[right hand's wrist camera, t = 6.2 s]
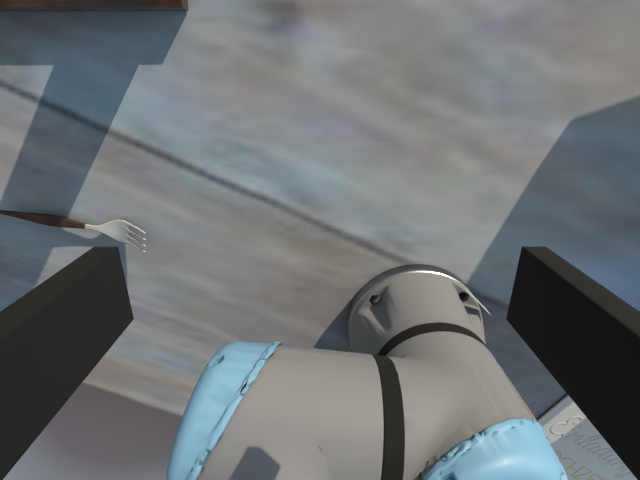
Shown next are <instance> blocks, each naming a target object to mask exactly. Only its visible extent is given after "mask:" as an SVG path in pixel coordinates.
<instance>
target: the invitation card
mask: <svg viewBox="0 0 640 480" xmlns="http://www.w3.org/2000/svg"><path fill="white" fill-rule="evenodd" d="M537 421H538V422H539V424H540V425H541V426H542V427H543V429H544V430H545V431H546V434H547V437H548V441H549V443H550V445H551V447H552V448H553V450H554V452H555V454H556V455H557V457H558V459H559V461H560V462H561V464H562V466H563V468H564V470H565V472H566V475H567V478H568V480H637V479H636V477H635V476H634V475H633V474H632V472H631V471H630V470H629V469H628V468H627V466H626V465H625V464H624V463H623V461H622V460H621V459H620V458H619V456H618V455H617V454H616V453H615V452H614V450H613V449H612V448H611V447H610V445H609V444H608V443H607V442H606V441H605V439H604V438H603V437H602V436H601V434H600V433H599V432H598V431H597V430H596V428H595V427H594V426H593V425H592V423H591V422H590V421H589V420H588V418H587V417H586V416H585V415H584V414H583V412H582V411H581V410H580V409H579V407H578V406H577V405H576V404H575V403H574V401H573V400H572V399H571V398H570V396H569V395H567V396H566V397H565V398H563V399H562V400H561V401H560V402H559V403H557V404H556V405H555V406H554V407H553V408H551V409H550V410H549V411H548V412H547V413H545V414H544V415H543V416H542V417H541V418H539V419H538V420H537Z"/></svg>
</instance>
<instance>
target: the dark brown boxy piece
mask: <svg viewBox="0 0 640 480" xmlns="http://www.w3.org/2000/svg"><path fill="white" fill-rule="evenodd" d="M0 11H188V3H187V0H0Z"/></svg>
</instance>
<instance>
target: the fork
mask: <svg viewBox="0 0 640 480" xmlns="http://www.w3.org/2000/svg"><path fill="white" fill-rule="evenodd" d="M0 213H1V214H4V215H8V216H12V217H17V218H21V219H25V220H29V221H32V222H36V223H40V224H44V225H49V226H56V227H69V228H84V229H93V230H97V231H100V232H102V233H104V234H106V235H107V236H109V237H111V238H113V239H115V240H117V241H119V242H122V243H125V244H128V245H131V246H133V247H135V248H137V249H139V250H141V251H143V252H144V253H145V252H146V251H144V250H143V249H141V248H140V247H138V246H137V245H135V244H133V243H132V242H130V241H129V239H131V240H133V241H135V242H138V243H140V244H141V245H143V246H146V245H145V244H143V243H142V242H140V241H138V240H137V239H135V238H133V237H132V236H130V235H129V233H131V234H134V235H136V236H138V237H140V238H142V239H144V240H146V239H145V238H144V237H142V236H140V235H139V234H137V233H135V232H134V231H132V230H130V229H129V227H132V228H134V229H136V230H139V231H141V232H143V233H144V234H146V232H144V231H143V230H141V229H139V228H138V227H136V226H134V225H132V224H130V223H128V222H126V221H124V220H113V221H110V222H107V223H105V224H102V225H99V226H93V225H88V224H85V223H81V222H78V221H74V220H71V219H67V218H63V217H59V216H55V215H48V214H36V213H23V212H14V211H3V210H0Z"/></svg>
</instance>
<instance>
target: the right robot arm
mask: <svg viewBox="0 0 640 480" xmlns="http://www.w3.org/2000/svg"><path fill="white" fill-rule="evenodd" d="M479 304H480V305H481V306H482V307H483V308H484V309H485V310H486V311H487V312H488V310H487V309H486V308H485V307H484V306H483V305H482V304H481V303H480V302H479V301H478V300H477V299H476V298H475V296H474V295H473V294H472V292H471V291H470V290H469V288H468V287H467V286H466V285H465V283H464V282H463V281H462V280H460V279H459V278H458V277H457V276H455V275H454V274H452V273H450V272H448V271H447V270H444V269H442V268H438V267H435V266H430V265H406V266H400V267H396V268H393V269H390V270H388V271H386V272H383V273H381V274H380V275H378V276H376V277H375V278H373V279H372V280H370V281H369V282H368V283H367V284H366V285H365V286H364V287H363V288H362V289H361V290H360V291H359V292H358V294H357V295H356V297H355V298H354V300H353V302H352V304H351V307H350V309H349V313H348V318H347V330H348V339H349V344H350V347H351V350H352V352H344V351H335V350H326V349H316V348H307V347H297V346H288V345H281V344H282V343H281V342H279V341H275V342H274V343H256V342H233V343H229V344H227V345H225V346H224V347H222V348H221V349H220V350H219V351H217V352H216V353H215V355H214V356H213V357H212V358H211V359H210V361H209V363H208V364H207V366H206V367H205V369H204V371H203V373H202V374H201V376H200V378H199V380H198V382H197V384H196V386H195V388H194V391H193V393H192V395H191V398H190V400H189V402H188V405H187V407H186V410H185V412H184V415H183V418H182V420H181V423H180V426H179V429H178V432H177V435H176V438H175V442H174V445H173V448H172V451H171V455H170V459H169V463H168V467H167V473H166V478H167V480H568V478H567V475H566V472H565V470H564V468H563V466H562V464H561V462H560V461H559V459H558V457H557V455H556V454H555V452H554V450H553V448H552V447H551V445H550V443H549V441H548V437H547V434H546V431H545V430H544V429H543V427H542V426H541V425H540V424H539V422H538V421H537V420H536V418H535V417H534V415H533V414H532V412H531V411H530V409H529V408H528V406H527V405H526V403H525V402H524V401H523V399H522V398H521V396H520V395H519V393H518V392H517V390H516V389H515V387H514V386H513V384H512V383H511V381H510V380H509V379H508V377H507V376H506V374H505V373H504V371H503V370H502V368H501V367H500V365H499V364H498V362H497V361H496V360H495V358H494V357H493V355H492V354H491V352H490V351H489V349H488V348H487V346H486V341H485V334H484V326H483V318H482V312H481V309H480V306H479ZM488 313H489V312H488ZM489 314H490V313H489ZM490 315H491V314H490ZM133 319H134V318H133V314H132V309H131V305H130V300H129V295H128V291H127V286H126V282H125V277H124V272H123V268H122V263H121V259H120V254H119V250H118V247H93V248H92V249H90V250H89V251H88V252H86V253H85V254H83V255H82V256H80V257H79V258H77V259H76V260H75V261H73V262H72V263H70V264H69V265H67V266H66V267H64V268H63V269H62V270H60V271H59V272H57V273H56V274H54V275H53V276H51V277H50V278H49V279H47V280H46V281H44V282H43V283H41V284H40V285H38V286H37V287H36V288H34V289H33V290H31V291H30V292H28V293H27V294H25V295H24V296H23V297H21V298H20V299H18V300H17V301H15V302H14V303H13V304H11V305H10V306H8V307H7V308H5V309H4V310H2V311H1V312H0V480H3V478H4V477H5V476H6V475H7V474H8V472H9V471H10V470H11V469H12V468H13V466H14V465H15V464H16V463H17V461H18V460H19V459H20V458H21V456H22V455H23V454H24V453H25V452H26V450H27V449H28V448H29V447H30V445H31V444H32V443H33V442H34V440H35V439H36V438H37V437H38V436H39V434H40V433H41V432H42V431H43V430H44V428H45V427H46V426H47V425H48V423H49V422H50V421H51V420H52V418H53V417H54V416H55V415H56V414H57V412H58V411H59V410H60V409H61V407H62V406H63V405H64V404H65V402H66V401H67V400H68V399H69V398H70V396H71V395H72V394H73V393H74V391H75V390H76V389H77V388H78V387H79V385H80V384H81V383H82V382H83V380H84V379H85V378H86V377H87V376H88V374H89V373H90V372H91V371H92V369H93V368H94V367H95V366H96V364H97V363H98V362H99V361H100V360H101V358H102V357H103V356H104V355H105V353H106V352H107V351H108V350H109V349H110V347H111V346H112V345H113V344H114V342H115V341H116V340H117V339H118V337H119V336H120V335H121V334H122V333H123V331H124V330H125V329H126V328H127V326H128V325H129V324H130V323H131V322H132V320H133ZM506 319H507V320H508V322H509V323H510V324H511V325H512V326H513V328H514V329H515V330H516V331H517V333H518V334H519V335H520V336H521V337H522V339H523V340H524V341H525V342H526V344H527V345H528V346H529V347H530V349H531V350H532V351H533V352H534V353H535V355H536V356H537V357H538V358H539V360H540V361H541V362H542V363H543V364H544V366H545V367H546V368H547V369H548V371H549V372H550V373H551V374H552V376H553V377H554V378H555V379H556V380H557V382H558V383H559V384H560V385H561V387H562V388H563V389H564V390H565V391H566V393H567V394H568V395H569V396H570V398H571V399H572V400H573V401H574V403H575V404H576V405H577V406H578V407H579V409H580V410H581V411H582V412H583V414H584V415H585V416H586V417H587V418H588V420H589V421H590V422H591V423H592V425H593V426H594V427H595V428H596V430H597V431H598V432H599V433H600V434H601V436H602V437H603V438H604V439H605V441H606V442H607V443H608V444H609V445H610V447H611V448H612V449H613V450H614V452H615V453H616V454H617V455H618V456H619V458H620V459H621V460H622V461H623V463H624V464H625V465H626V466H627V468H628V469H629V470H630V471H631V472H632V474H633V475H634V476H635V477H636V479H637V480H640V312H639V311H638V310H636V309H635V308H633V307H632V306H630V305H629V304H627V303H626V302H625V301H623V300H622V299H620V298H619V297H617V296H616V295H615V294H613V293H612V292H610V291H609V290H607V289H606V288H604V287H603V286H602V285H600V284H599V283H597V282H596V281H594V280H593V279H591V278H590V277H589V276H587V275H586V274H584V273H583V272H581V271H580V270H578V269H577V268H576V267H574V266H573V265H571V264H570V263H568V262H567V261H565V260H564V259H563V258H561V257H560V256H558V255H557V254H555V253H554V252H552V251H551V250H550V249H548V248H547V247H522V250H521V254H520V259H519V263H518V268H517V272H516V277H515V282H514V286H513V291H512V295H511V300H510V305H509V309H508V314H507V318H506Z"/></svg>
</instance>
